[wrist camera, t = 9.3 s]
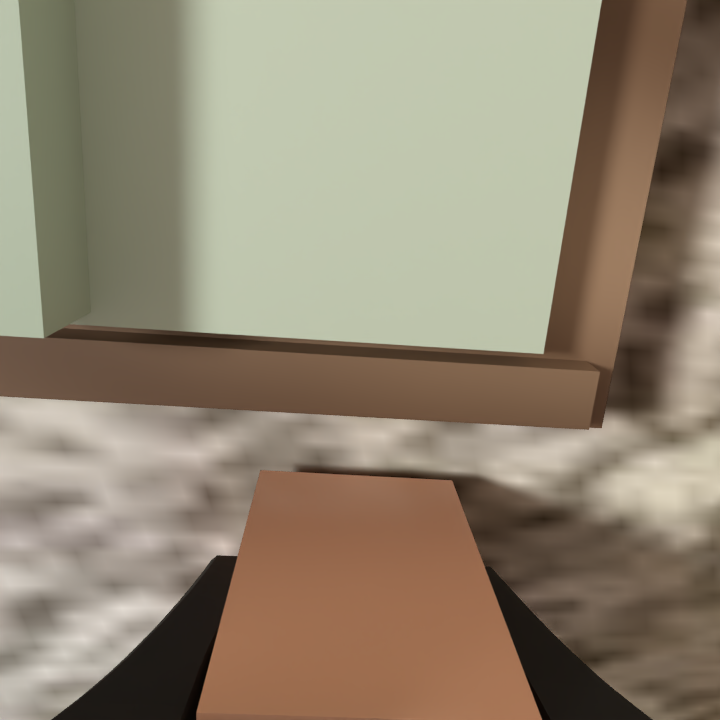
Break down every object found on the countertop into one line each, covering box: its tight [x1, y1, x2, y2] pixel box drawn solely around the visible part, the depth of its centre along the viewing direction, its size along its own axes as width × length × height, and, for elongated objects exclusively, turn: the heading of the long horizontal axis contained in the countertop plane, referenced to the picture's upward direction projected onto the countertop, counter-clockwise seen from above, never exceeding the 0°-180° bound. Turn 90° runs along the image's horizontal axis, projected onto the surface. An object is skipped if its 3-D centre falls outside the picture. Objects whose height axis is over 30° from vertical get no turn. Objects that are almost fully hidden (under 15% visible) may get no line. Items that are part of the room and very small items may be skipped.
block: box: [196, 470, 542, 720], centre depth 11 cm, size 4×4×6 cm
